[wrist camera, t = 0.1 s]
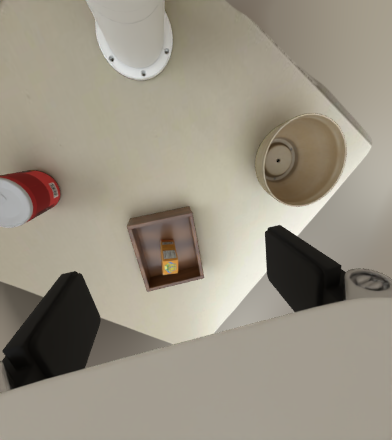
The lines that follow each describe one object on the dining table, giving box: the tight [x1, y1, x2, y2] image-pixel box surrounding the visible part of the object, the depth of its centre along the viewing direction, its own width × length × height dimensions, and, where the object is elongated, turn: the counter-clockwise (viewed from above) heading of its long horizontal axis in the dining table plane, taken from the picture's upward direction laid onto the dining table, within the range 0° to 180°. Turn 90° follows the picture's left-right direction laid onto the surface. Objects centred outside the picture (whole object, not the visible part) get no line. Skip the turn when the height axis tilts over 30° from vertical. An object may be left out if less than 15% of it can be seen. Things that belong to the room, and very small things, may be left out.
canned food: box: [0, 170, 60, 228], centre depth 37 cm, size 8×8×11 cm
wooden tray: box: [127, 207, 204, 292], centre depth 48 cm, size 17×14×5 cm
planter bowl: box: [255, 113, 347, 207], centre depth 42 cm, size 16×16×11 cm
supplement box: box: [160, 240, 178, 275], centre depth 45 cm, size 3×3×10 cm
